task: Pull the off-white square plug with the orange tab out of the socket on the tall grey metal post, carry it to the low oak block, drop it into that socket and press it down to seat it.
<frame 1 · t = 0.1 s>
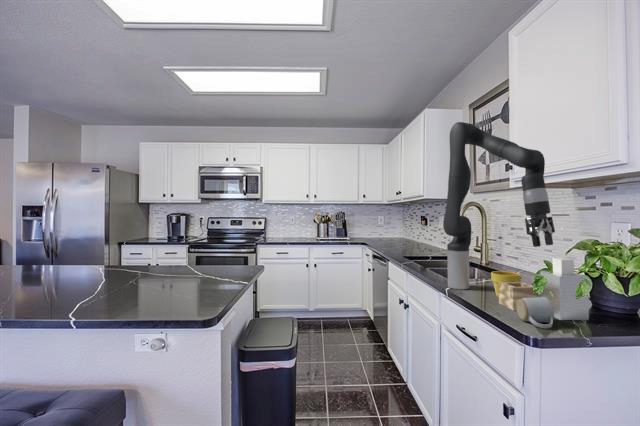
hand: (543, 245, 113), 22 cm above the countertop, tool pointing down, fingers open, 8 cm apart
upper jack: (563, 315, 105), on the countertop
ceramic mug: (537, 323, 98), on the countertop
lower jack: (518, 306, 115), on the countertop
plug: (563, 285, 105), point 10 cm above the countertop, touching upper jack
plant pot: (505, 297, 128), on the countertop
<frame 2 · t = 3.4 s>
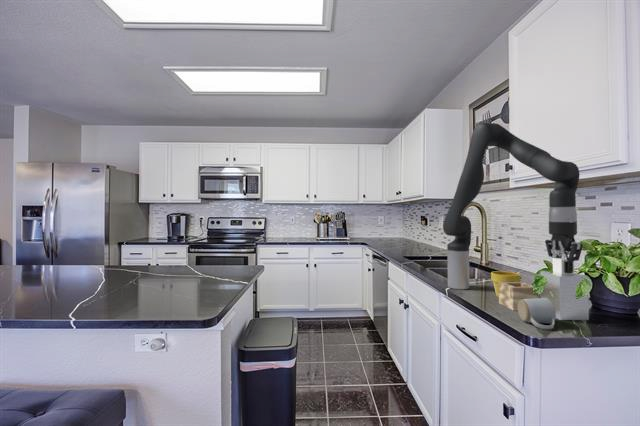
hand: (563, 271, 105), 15 cm above the countertop, tool pointing down, fingers closed on plug, 4 cm apart
plug: (563, 285, 105), point 10 cm above the countertop, touching gripper, upper jack
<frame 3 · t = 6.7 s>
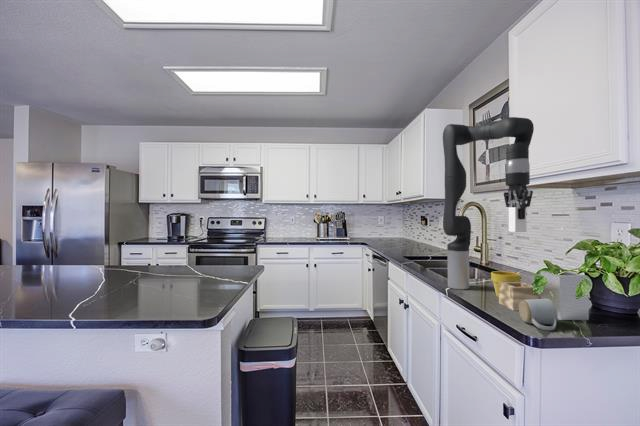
hand: (517, 218, 115), 32 cm above the countertop, tool pointing down, fingers closed on plug, 4 cm apart
plug: (517, 231, 115), point 28 cm above the countertop, touching gripper
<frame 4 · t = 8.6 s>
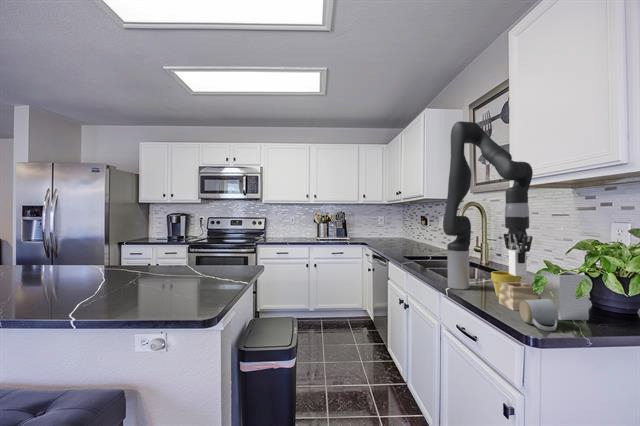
hand: (517, 261, 115), 16 cm above the countertop, tool pointing down, fingers closed on plug, 4 cm apart
plug: (517, 274, 115), point 12 cm above the countertop, touching gripper
when the fingers open (11 cm above the countertop, at t = 10.1 s): plug drops 2 cm, resting on lower jack.
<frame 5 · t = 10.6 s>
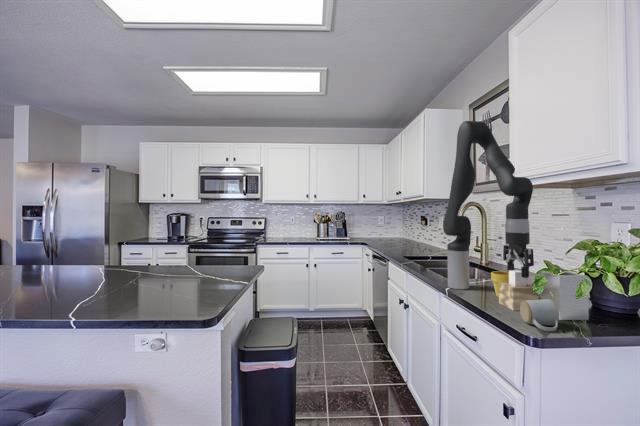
hand: (517, 275, 115), 12 cm above the countertop, tool pointing down, fingers open, 8 cm apart
plug: (517, 295, 115), point 4 cm above the countertop, touching lower jack
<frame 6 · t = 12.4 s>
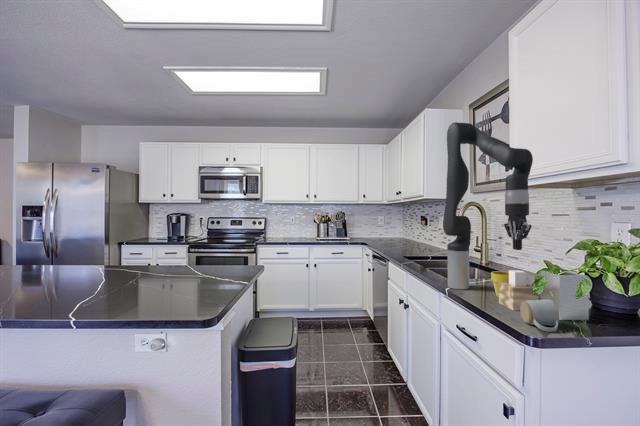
hand: (517, 249, 115), 21 cm above the countertop, tool pointing down, fingers closed
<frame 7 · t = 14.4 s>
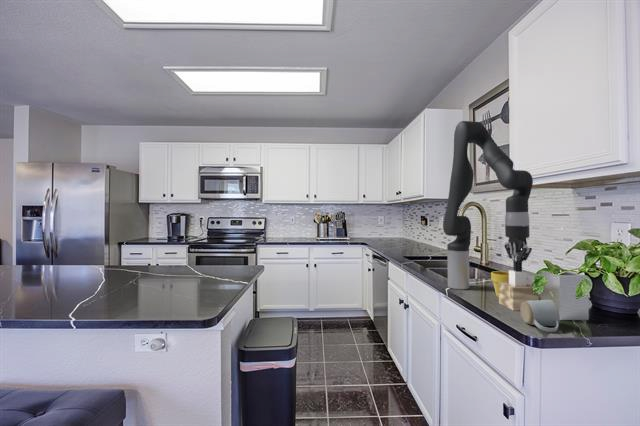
hand: (517, 271, 115), 13 cm above the countertop, tool pointing down, fingers closed
plug: (517, 295, 115), point 4 cm above the countertop, touching gripper, lower jack
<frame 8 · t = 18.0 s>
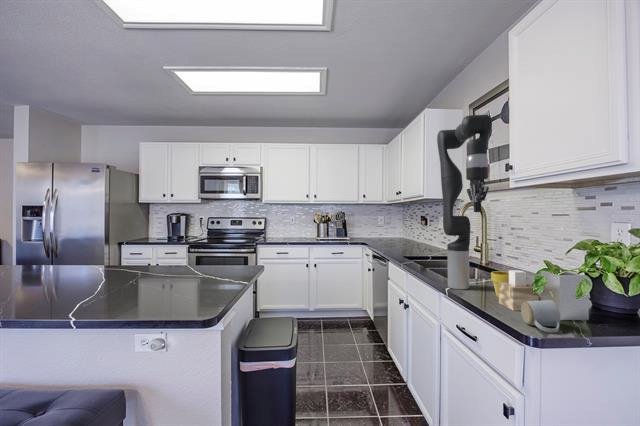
hand: (477, 212, 120), 35 cm above the countertop, tool pointing down, fingers closed
plug: (517, 295, 115), point 4 cm above the countertop, touching lower jack
at the end: plug 0.1 cm off-centre on the lower jack, point 4.0 cm above the lower jack's base; plug tilted 0°; the gripper is holding nothing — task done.
